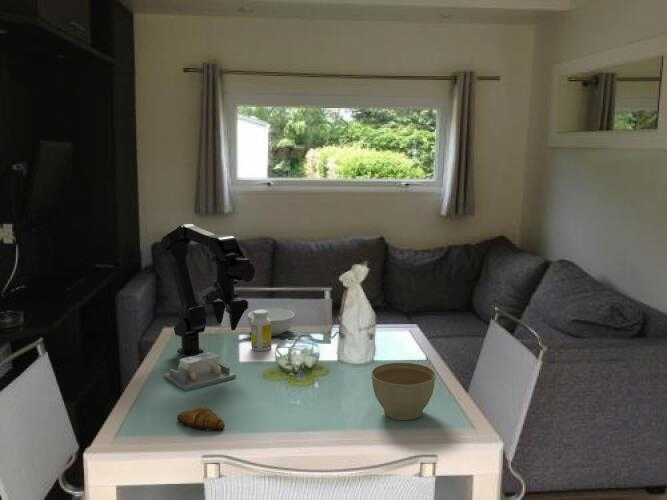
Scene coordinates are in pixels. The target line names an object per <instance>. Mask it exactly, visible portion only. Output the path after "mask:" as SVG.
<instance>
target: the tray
mask: <svg viewBox="0 0 667 500" xmlns="http://www.w3.org/2000/svg"><path fill="white" fill-rule="evenodd" d="M177 368H178V370H176V369H173V368H169V370H168V371H169V372H165V373H163V377H164V378H165V379H166V380H168V381H170V382H171V383H173V384H174V385H176V386H178V387H179V388H180V389H182V390H184V391H185V392H186V391H190V390H194V389H197V388H201V387H206V386H209V385H214V384H217V383H220V382H224V381H228V380H233V379H236V378H237V377H236V373H234V372H232V371H230V370H231V369H230V367H229V366H227V365H225V364H223V362H222V363H221V362H220V361H219V366H217V367H216V373H215V374H211V375H207V376H203V377H200V378H196V372H191V380H187V377H185V376H184V375H182V374H180V364H178V367H177Z"/></svg>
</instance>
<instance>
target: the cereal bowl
mask: <svg viewBox="0 0 667 500" xmlns="http://www.w3.org/2000/svg"><path fill="white" fill-rule="evenodd" d="M256 310H257V309H256ZM256 310H253V311H250V312H249V313H248V314H247V322H248V325H249V327H250V328H251V320H252V319H253V318H254V315H253V312H254V311H256ZM259 310H266V311H268V315H267V318H269V319H270V321H271V337H273V336H274V337H275V336H278V335H281V334H282V333H284V332H287V331H289V330H290V329H291V328H292V327H293V326H294V323H295V316H296V314H295V313H294V312H293V311H291V310H290V309H289V310H288V309H283V308H262V309H259Z"/></svg>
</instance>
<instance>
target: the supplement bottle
mask: <svg viewBox="0 0 667 500" xmlns="http://www.w3.org/2000/svg"><path fill="white" fill-rule="evenodd" d="M253 311H254V312H253V315H254V318H253V319H252V320H251V327H250V339H251V341H250V342H251V349H252V350H253V351H256V352H257V351H258V352H263V351H264V352H266V351H269V350H271V348H272V336H271V321H270V319H269V318H267V315H268V311H266V310H260V309H256V311H255V310H253Z"/></svg>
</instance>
